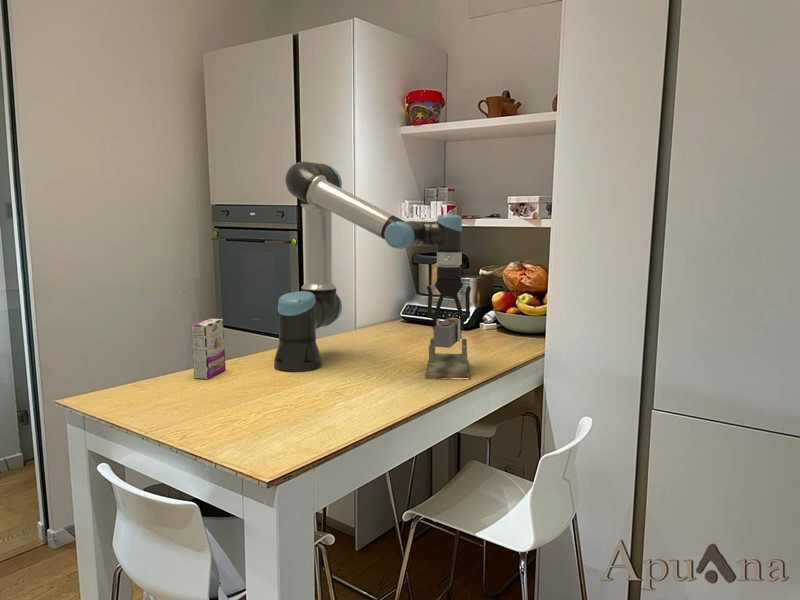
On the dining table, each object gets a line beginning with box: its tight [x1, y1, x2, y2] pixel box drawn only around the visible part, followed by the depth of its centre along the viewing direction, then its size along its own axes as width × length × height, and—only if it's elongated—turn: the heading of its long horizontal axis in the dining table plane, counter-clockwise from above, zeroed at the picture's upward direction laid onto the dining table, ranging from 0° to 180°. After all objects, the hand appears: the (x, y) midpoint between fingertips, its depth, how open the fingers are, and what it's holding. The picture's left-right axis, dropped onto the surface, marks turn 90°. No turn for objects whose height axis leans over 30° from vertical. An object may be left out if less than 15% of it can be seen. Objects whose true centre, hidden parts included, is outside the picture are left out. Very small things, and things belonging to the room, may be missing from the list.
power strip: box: [433, 317, 463, 349], centre depth 192 cm, size 5×16×6 cm, turn 162°
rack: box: [424, 337, 470, 379], centre depth 193 cm, size 13×20×9 cm, turn 175°
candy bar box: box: [190, 318, 227, 380], centre depth 187 cm, size 11×5×16 cm, turn 168°
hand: (448, 340), depth 192 cm, fingers closed on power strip, 6 cm apart
